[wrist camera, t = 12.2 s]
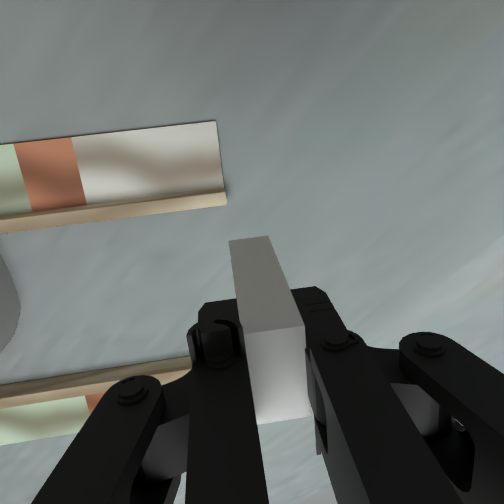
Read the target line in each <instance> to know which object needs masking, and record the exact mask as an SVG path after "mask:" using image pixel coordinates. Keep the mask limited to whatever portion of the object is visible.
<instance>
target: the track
mask: <svg viewBox="0 0 504 504" xmlns="http://www.w3.org/2000/svg"><path fill="white" fill-rule="evenodd" d="M221 205H227V201H226V193H225V189H224V183H223V175H222V167H221V159H220V151H219V143H218V135H217V127H216V121H211V122H202V123H193V124H184V125H175V126H166V127H157V128H148V129H139V130H130V131H121V132H112V133H103V134H95V135H86V136H77V137H68V138H59V139H50V140H41V141H32V142H23V143H14V144H5V145H0V234H2V233H10V232H17V231H25V230H33V229H41V228H49V227H57V226H64V225H72V224H80V223H88V222H96V221H104V220H112V219H119V218H127V217H135V216H143V215H151V214H159V213H166V212H174V211H182V210H190V209H198V208H206V207H214V206H221ZM191 369H192V363H191V358H190V356H187V357H180V358H174V359H167V360H161V361H154V362H148V363H141V364H135V365H129V366H122V367H116V368H109V369H103V370H96V371H90V372H83V373H77V374H70V375H64V376H57V377H51V378H44V379H38V380H31V381H25V382H18V383H12V384H5V385H0V445H6V444H12V443H18V442H24V441H30V440H36V439H42V438H48V437H54V436H60V435H66V434H72V433H78V432H79V431H80V429H81V428H82V426H83V425H84V423H85V422H86V420H87V419H88V417H89V416H90V414H91V413H92V411H93V410H94V408H95V407H96V405H97V404H98V402H99V401H100V399H101V398H102V396H103V395H104V393H105V392H106V391H107V390H108V389H109V388H110V387H111V386H112V385H114V384H115V383H117V382H119V381H120V380H123V379H125V378H128V377H131V376H137V375H148V376H153V377H155V378H156V379H158V380H159V381H160V383H161V385H164V384H167V383H169V382H172V381H174V380H176V379H179V378H181V377H182V376H184V375H185V374H187V373H188V372H189V371H190V370H191Z"/></svg>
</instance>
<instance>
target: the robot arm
mask: <svg viewBox="0 0 504 504" xmlns="http://www.w3.org/2000/svg"><path fill="white" fill-rule="evenodd" d="M229 248H230V255H231V262H232V270H233V277H234V285H235V292H236V299H229V300H221V301H214V302H207V303H205V304H204V305H203V306H202V308H201V309H200V310H199V312H198V323H196V324H195V325H193V326H192V327H191V328H190V329H189V330H188V333H187V335H186V336H187V342H188V347H189V352H190V358H191V363H192V369H191V370H190V371H189V372H188V373H187V374H185V375H184V376H182V377H181V378H179V379H176V380H174V381H172V382H169V383H167V384H164V385H161V383H160V381H159V380H158V379H156V378H155V377H153V376H148V375H137V376H131V377H128V378H125V379H123V380H120V381H119V382H117V383H115V384H114V385H112V386H111V387H110V388H109V389H108V390H107V391H106V392H105V393H104V395H103V396H102V398H101V399H100V401H99V402H98V404H97V405H96V407H95V408H94V410H93V411H92V413H91V414H90V416H89V417H88V419H87V420H86V422H85V423H84V425H83V426H82V428H81V429H80V431H79V432H78V434H77V435H76V437H75V438H74V440H73V441H72V443H71V444H70V446H69V447H68V449H67V450H66V452H65V453H64V455H63V456H62V458H61V459H60V461H59V462H58V464H57V465H56V467H55V468H54V470H53V471H52V473H51V474H50V476H49V477H48V479H47V480H46V482H45V483H44V485H43V486H42V488H41V489H40V491H39V492H38V494H37V495H36V497H35V498H34V500H33V501H32V503H31V504H173V503H174V500H175V497H176V494H177V491H178V488H179V485H180V481H181V474H182V473H184V472H186V471H187V474H186V494H185V504H269V500H268V493H267V487H266V480H265V474H264V467H263V460H262V454H261V447H260V441H259V434H258V427H257V425H259V424H265V423H271V422H278V421H284V420H291V419H297V418H303V417H310V416H311V408H310V404H311V407H312V410H313V413H314V420H315V435H316V450H317V455H319V454H321V452H322V455H323V458H324V461H325V465H326V468H327V471H328V474H329V477H330V481H331V484H332V487H333V490H334V493H335V497H336V500H337V503H338V504H504V374H503V373H501V372H500V371H498V370H497V369H495V368H494V367H492V366H491V365H489V364H488V363H486V362H485V361H483V360H482V359H480V358H479V357H477V356H476V355H474V354H473V353H471V352H470V351H468V350H467V349H466V348H464V347H463V346H461V345H460V344H458V343H457V342H455V341H454V340H452V339H450V338H448V337H446V336H444V335H440V334H436V333H432V332H417V333H411V334H409V335H407V336H405V337H403V338H402V340H401V341H400V342H399V349H382V348H373V347H370V346H367V345H366V343H365V342H364V340H363V339H362V338H361V337H360V336H359V335H358V334H356V333H354V332H352V331H349V330H347V329H346V327H345V325H344V324H343V322H342V320H341V318H340V317H339V315H338V313H337V311H336V310H335V309H334V306H333V304H332V303H331V301H330V299H329V297H328V296H327V294H326V292H324V291H322V290H321V289H319V288H317V287H316V286H313V287H306V288H299V289H291V290H290V288H289V286H288V283H287V281H286V278H285V276H284V274H283V271H282V269H281V266H280V264H279V261H278V259H277V257H276V254H275V252H274V249H273V247H272V244H271V242H270V239H269V237H268V236H262V237H254V238H247V239H239V240H232V241H229ZM455 419H456V420H457V421H459V422H460V423H461V424H462V425H463V426H462V425H461V424H460V423H459V422H457V421H456V420H455Z"/></svg>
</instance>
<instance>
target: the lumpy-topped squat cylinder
mask: <svg viewBox="0 0 504 504" xmlns="http://www.w3.org/2000/svg"><path fill="white" fill-rule="evenodd" d="M20 309H21V307H20V301H19V298H18V294H17V291H16V288H15V285H14V283H13V280H12V278H11V275H10V273H9V271H8V269H7V267H6V265H5V263H4V261H3V259H2V257H1V256H0V353H1V351H2V350H3V349H4V347H5V346H6V345H7V344H8V342H9V341H10V340H11V338H12V337H13V335H14V333H15V331H16V328H17V324H18V320H19V316H20Z"/></svg>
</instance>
